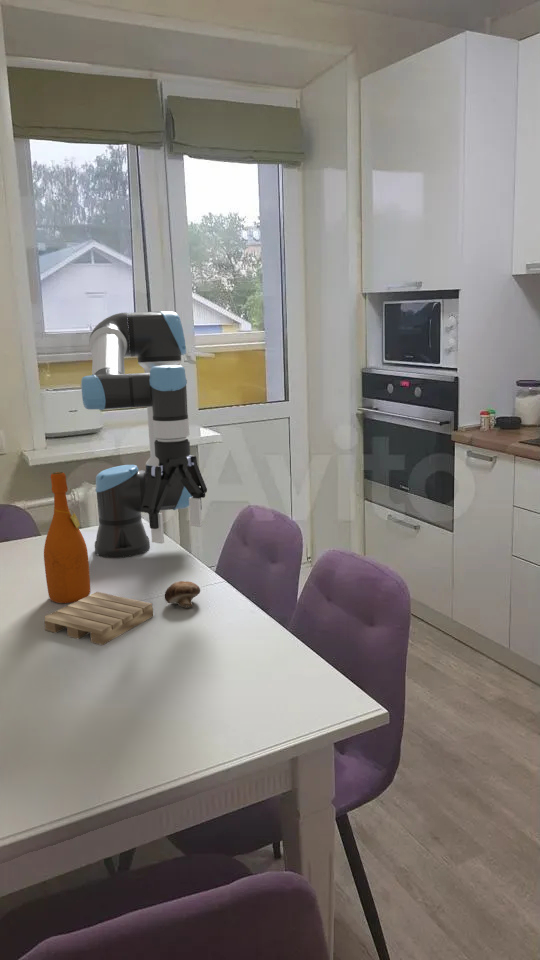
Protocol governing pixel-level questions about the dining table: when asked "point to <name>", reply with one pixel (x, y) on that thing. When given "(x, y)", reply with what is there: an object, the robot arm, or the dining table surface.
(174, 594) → the mushroom
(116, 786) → the dining table surface
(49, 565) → the wine bottle
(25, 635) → the dining table surface
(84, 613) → the pallet
